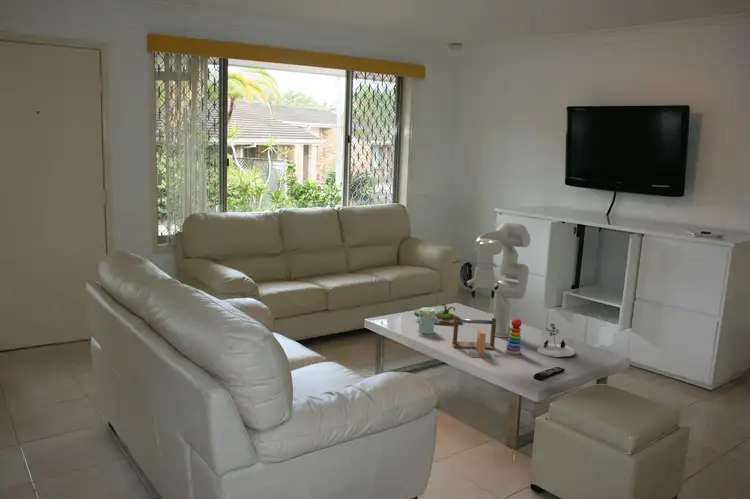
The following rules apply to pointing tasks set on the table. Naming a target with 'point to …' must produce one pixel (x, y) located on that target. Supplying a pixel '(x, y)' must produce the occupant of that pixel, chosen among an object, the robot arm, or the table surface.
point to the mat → (475, 354)
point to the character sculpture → (426, 320)
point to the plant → (445, 316)
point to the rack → (473, 344)
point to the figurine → (555, 347)
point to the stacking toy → (514, 338)
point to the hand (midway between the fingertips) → (482, 297)
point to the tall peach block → (481, 342)
